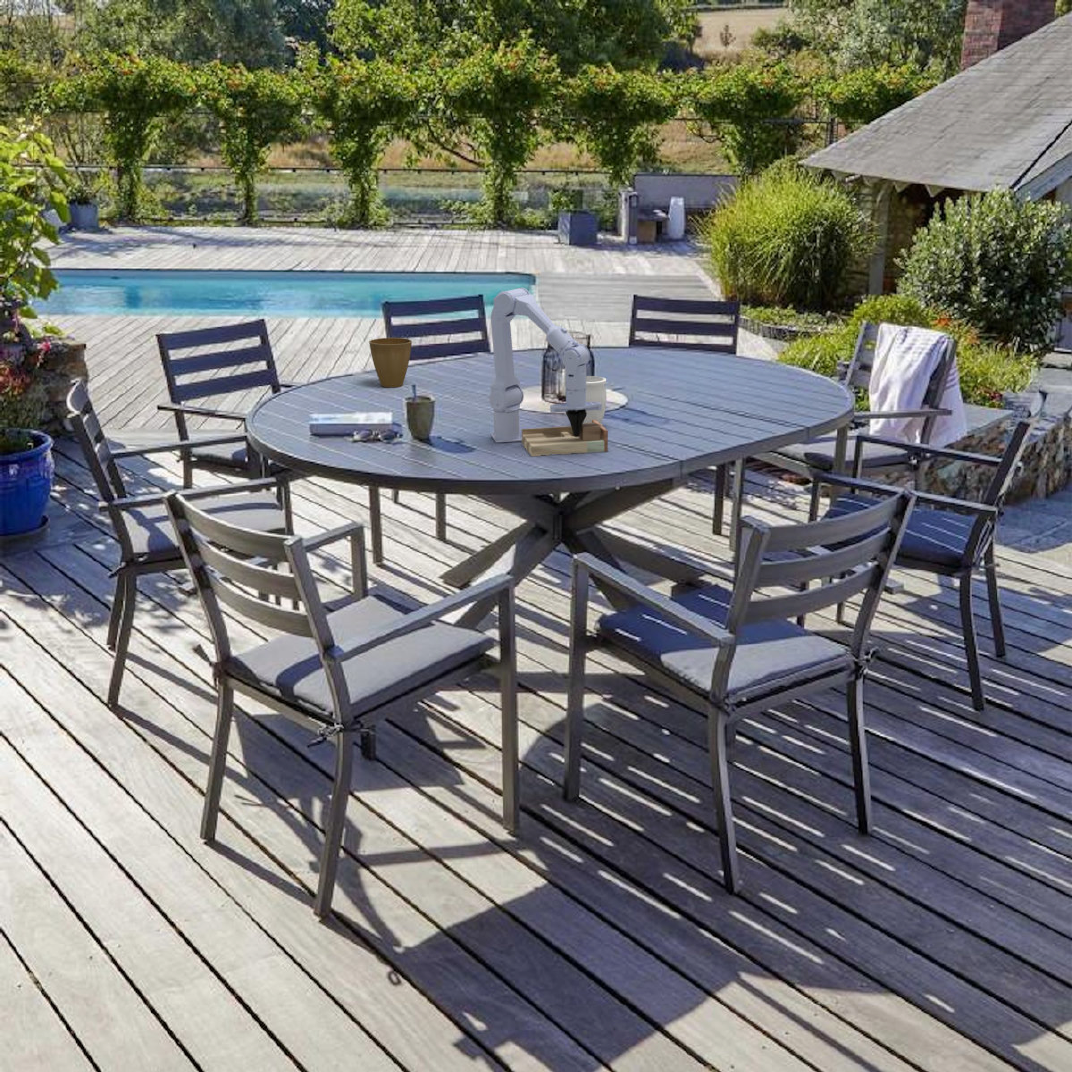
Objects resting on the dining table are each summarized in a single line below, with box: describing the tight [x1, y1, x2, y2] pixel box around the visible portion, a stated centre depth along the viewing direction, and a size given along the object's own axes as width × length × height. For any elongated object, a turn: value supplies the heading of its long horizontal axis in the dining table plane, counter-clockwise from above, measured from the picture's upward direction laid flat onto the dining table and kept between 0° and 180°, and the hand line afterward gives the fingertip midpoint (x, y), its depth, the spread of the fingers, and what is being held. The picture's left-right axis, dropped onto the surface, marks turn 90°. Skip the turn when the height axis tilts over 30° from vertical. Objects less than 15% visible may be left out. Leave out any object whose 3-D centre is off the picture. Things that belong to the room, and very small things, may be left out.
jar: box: [583, 375, 607, 427], centre depth 381 cm, size 11×10×15 cm
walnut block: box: [579, 423, 601, 441], centre depth 357 cm, size 5×5×4 cm
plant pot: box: [368, 337, 413, 388], centre depth 443 cm, size 15×15×16 cm
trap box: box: [521, 420, 609, 457], centre depth 359 cm, size 14×22×6 cm, turn 102°
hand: (576, 436), depth 357 cm, fingers closed
